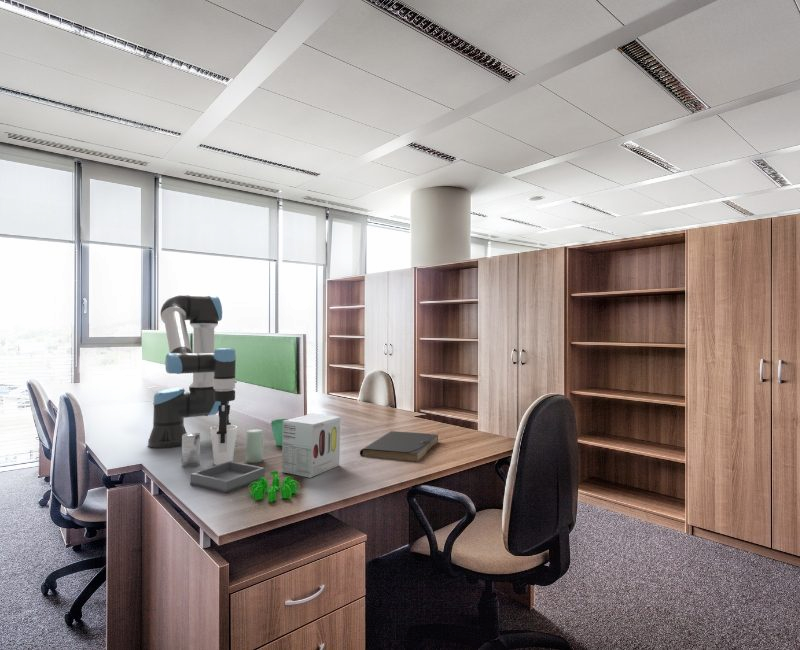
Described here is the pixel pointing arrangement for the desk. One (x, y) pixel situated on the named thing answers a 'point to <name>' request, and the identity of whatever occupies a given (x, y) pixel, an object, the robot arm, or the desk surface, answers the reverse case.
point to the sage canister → (254, 446)
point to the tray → (227, 476)
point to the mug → (278, 430)
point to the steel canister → (190, 450)
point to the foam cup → (231, 438)
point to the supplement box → (310, 444)
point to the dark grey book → (401, 446)
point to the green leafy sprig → (273, 488)
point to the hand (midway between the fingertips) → (223, 447)
